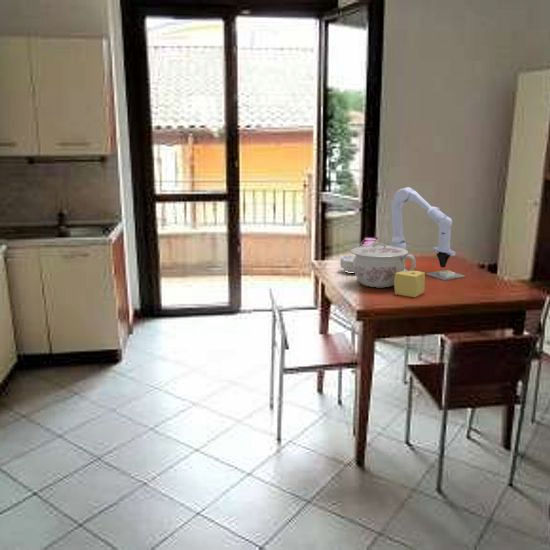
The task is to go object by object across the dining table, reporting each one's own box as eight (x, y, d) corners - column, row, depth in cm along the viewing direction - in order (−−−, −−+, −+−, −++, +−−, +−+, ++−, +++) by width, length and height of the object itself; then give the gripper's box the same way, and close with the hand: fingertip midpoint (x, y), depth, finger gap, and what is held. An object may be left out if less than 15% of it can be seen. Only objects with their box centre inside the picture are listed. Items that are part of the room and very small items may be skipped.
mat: (444, 280, 272) (444, 279, 272) (425, 274, 284) (425, 273, 284) (465, 277, 278) (465, 275, 278) (446, 271, 290) (446, 270, 290)
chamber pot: (339, 281, 274) (340, 240, 270) (386, 275, 284) (388, 236, 279) (368, 295, 249) (369, 250, 244) (419, 288, 259) (421, 245, 254)
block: (439, 275, 280) (447, 277, 275) (439, 271, 280) (447, 273, 275) (446, 273, 282) (454, 276, 277) (446, 270, 282) (455, 272, 277)
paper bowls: (369, 276, 284) (369, 261, 282) (339, 275, 286) (339, 260, 284) (369, 269, 298) (369, 255, 296) (341, 268, 301) (341, 254, 299)
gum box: (373, 269, 298) (374, 244, 295) (359, 268, 301) (359, 244, 297) (378, 260, 321) (378, 237, 318) (364, 259, 323) (364, 236, 320)
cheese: (403, 289, 258) (404, 268, 255) (425, 293, 251) (426, 271, 248) (393, 294, 250) (394, 273, 247) (415, 298, 243) (416, 276, 241)
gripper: (460, 242, 273) (459, 269, 276) (440, 238, 286) (439, 263, 289) (449, 243, 270) (448, 270, 273) (429, 239, 283) (428, 265, 286)
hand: (442, 267), depth 281 cm, fingers closed
